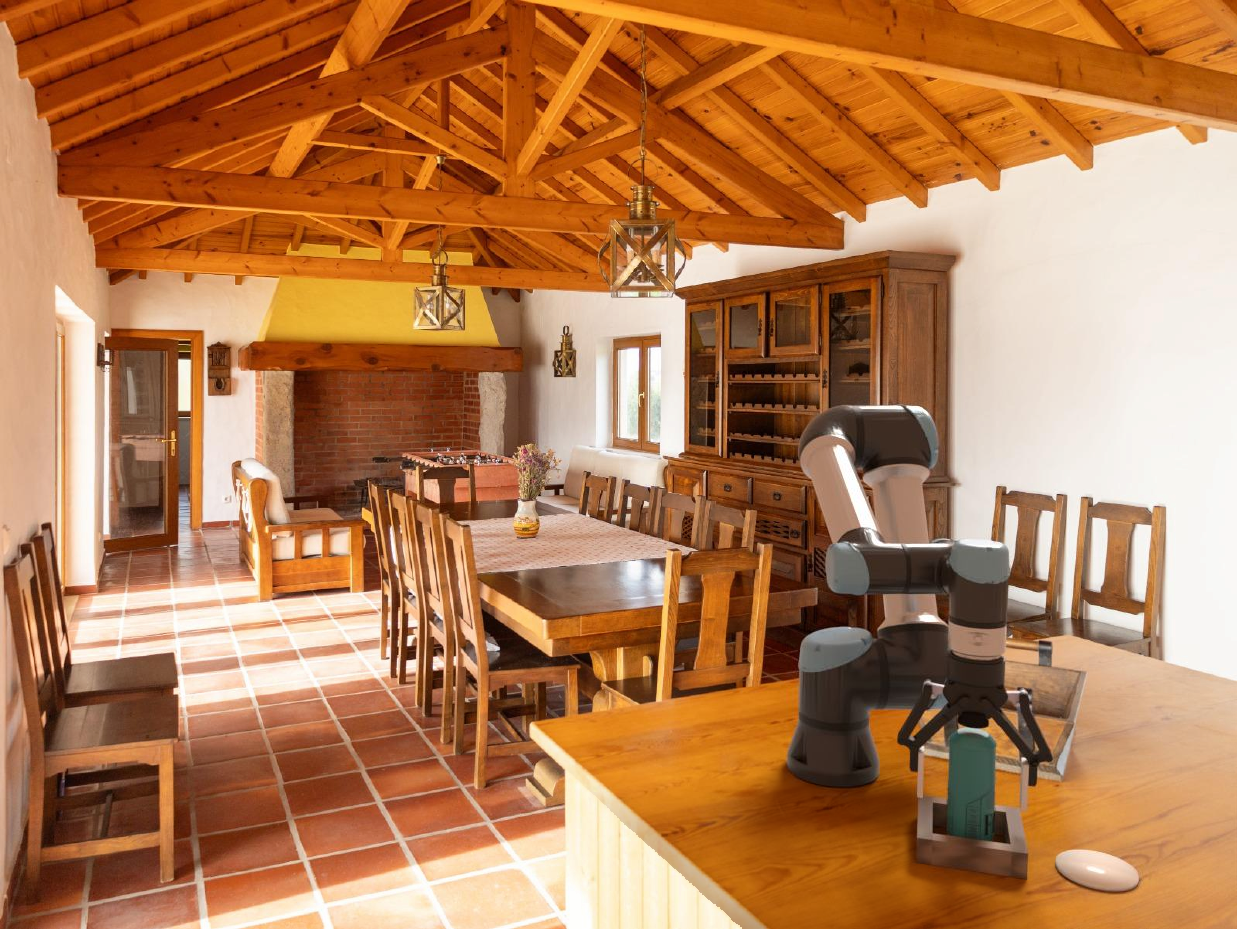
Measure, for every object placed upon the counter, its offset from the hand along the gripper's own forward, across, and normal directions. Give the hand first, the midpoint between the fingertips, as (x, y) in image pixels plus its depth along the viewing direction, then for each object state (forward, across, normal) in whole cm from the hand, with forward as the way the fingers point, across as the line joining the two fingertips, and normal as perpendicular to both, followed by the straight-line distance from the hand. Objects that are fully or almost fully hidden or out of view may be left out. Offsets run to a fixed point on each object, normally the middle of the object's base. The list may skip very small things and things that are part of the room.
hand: (970, 800), depth 136 cm
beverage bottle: (+7, 0, 0) cm, 7 cm away
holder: (+7, 0, 0) cm, 7 cm away
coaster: (+7, +16, -2) cm, 17 cm away
